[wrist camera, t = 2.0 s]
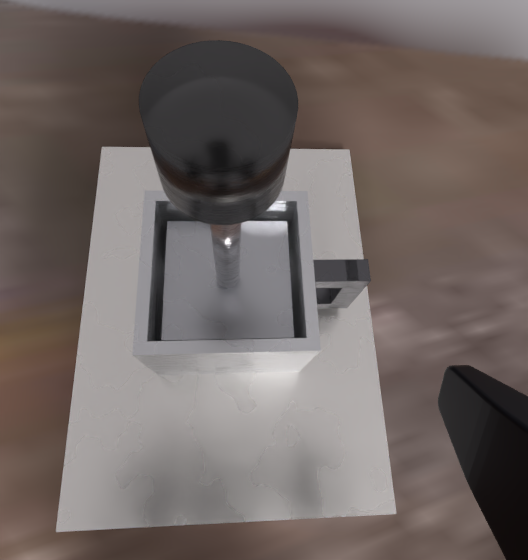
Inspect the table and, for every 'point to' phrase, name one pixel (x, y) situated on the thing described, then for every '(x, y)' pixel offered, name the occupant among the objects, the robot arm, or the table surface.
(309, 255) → the white socket holder tray
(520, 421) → the robot arm
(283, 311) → the plunger
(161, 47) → the table surface
